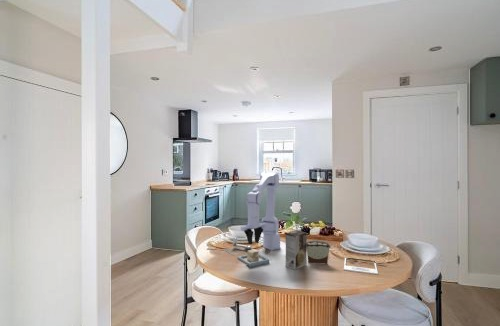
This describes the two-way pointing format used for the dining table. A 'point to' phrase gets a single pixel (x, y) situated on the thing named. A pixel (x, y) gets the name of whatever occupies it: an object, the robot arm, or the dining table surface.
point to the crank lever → (240, 245)
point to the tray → (254, 264)
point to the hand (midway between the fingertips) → (253, 243)
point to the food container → (317, 252)
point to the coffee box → (296, 249)
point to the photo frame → (360, 269)
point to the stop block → (253, 255)
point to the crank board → (237, 250)
